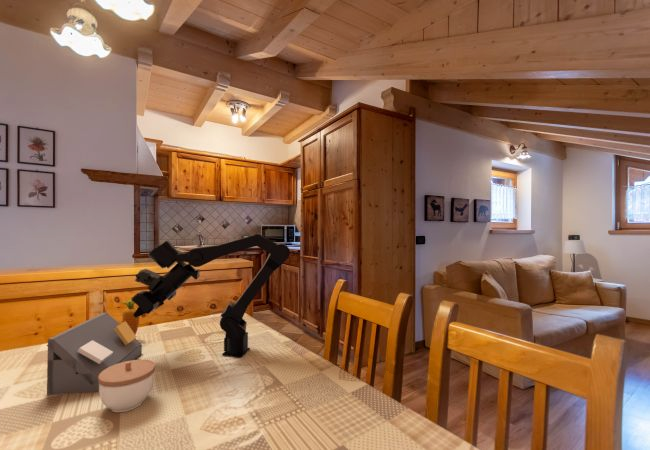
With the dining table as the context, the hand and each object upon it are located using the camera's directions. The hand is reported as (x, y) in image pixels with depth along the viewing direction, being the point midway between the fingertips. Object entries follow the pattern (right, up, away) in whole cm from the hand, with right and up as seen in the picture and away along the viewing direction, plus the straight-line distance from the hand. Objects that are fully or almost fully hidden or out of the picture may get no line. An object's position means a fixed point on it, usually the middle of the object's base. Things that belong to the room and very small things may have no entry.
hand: (134, 316), depth 90 cm
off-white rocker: (0, -7, -14) cm, 16 cm away
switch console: (-4, -13, -8) cm, 15 cm away
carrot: (-10, -13, +14) cm, 21 cm away
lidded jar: (+13, -13, -23) cm, 29 cm away
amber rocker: (-3, -7, 0) cm, 8 cm away
